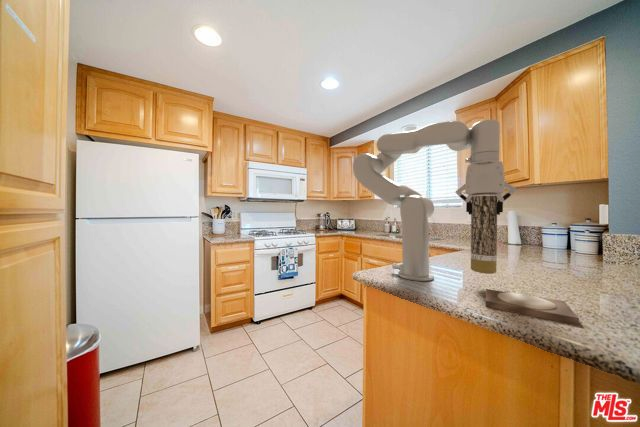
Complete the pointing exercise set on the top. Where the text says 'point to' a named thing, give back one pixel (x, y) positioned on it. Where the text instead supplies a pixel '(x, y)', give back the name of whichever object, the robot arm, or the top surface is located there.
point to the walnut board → (531, 306)
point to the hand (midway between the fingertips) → (483, 214)
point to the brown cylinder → (484, 233)
